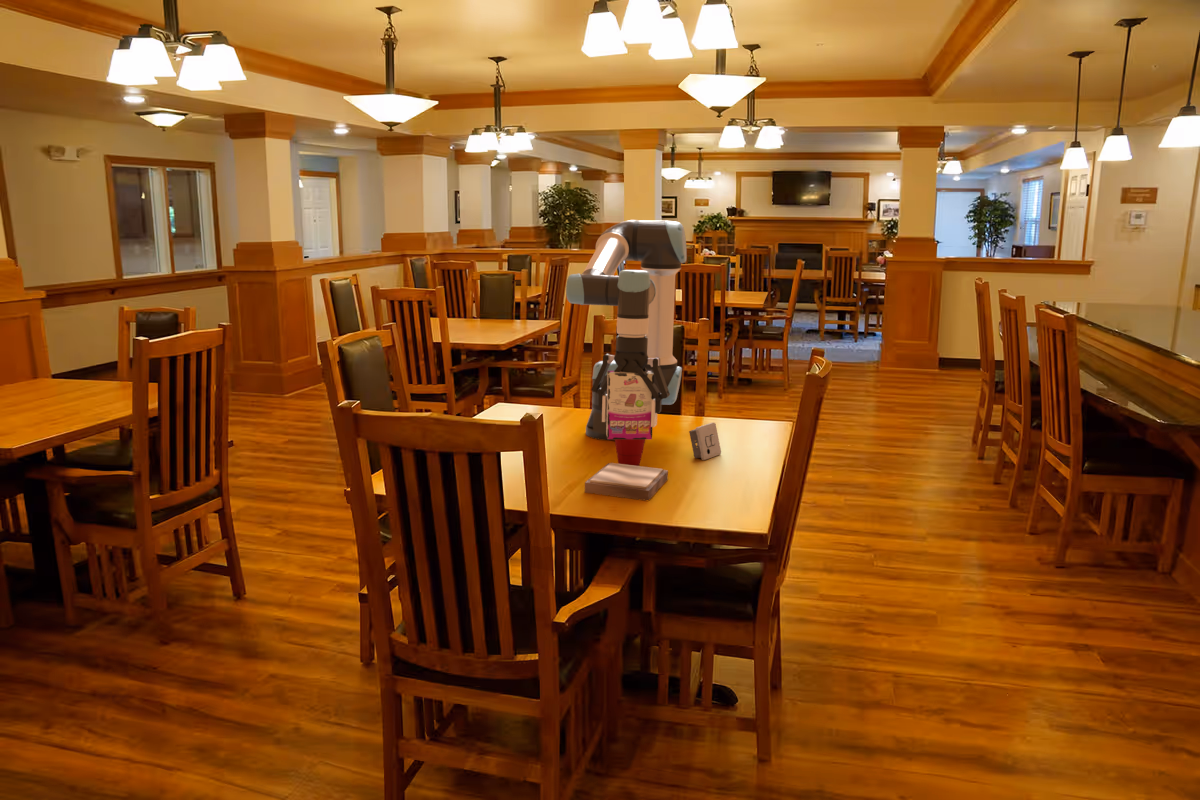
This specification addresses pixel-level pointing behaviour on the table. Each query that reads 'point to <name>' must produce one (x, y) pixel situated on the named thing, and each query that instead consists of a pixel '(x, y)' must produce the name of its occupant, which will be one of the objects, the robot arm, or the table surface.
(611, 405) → the candy bar box
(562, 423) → the table surface
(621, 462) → the plastic cup
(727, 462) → the table surface
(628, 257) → the robot arm
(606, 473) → the pale flat square slab
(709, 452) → the electrical switch
